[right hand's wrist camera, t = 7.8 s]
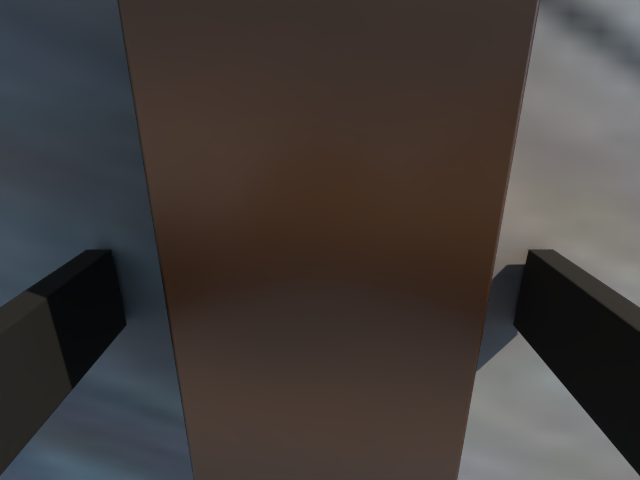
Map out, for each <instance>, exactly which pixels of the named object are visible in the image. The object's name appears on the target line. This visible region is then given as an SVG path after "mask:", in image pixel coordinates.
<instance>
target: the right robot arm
mask: <svg viewBox="0 0 640 480" xmlns="http://www.w3.org/2000/svg"><path fill="white" fill-rule="evenodd" d="M126 325H127V324H126V320H125V315H124V310H123V305H122V300H121V295H120V291H119V286H118V281H117V276H116V271H115V267H114V262H113V257H112V252H111V250H85V251H84V252H82V253H81V254H79V255H78V256H76V257H75V258H73V259H72V260H71V261H69V262H68V263H66V264H65V265H63V266H62V267H60V268H59V269H57V270H56V271H54V272H53V273H51V274H50V275H48V276H47V277H45V278H44V279H42V280H41V281H39V282H38V283H36V284H35V285H33V286H32V287H30V288H29V289H27V290H26V291H24V292H23V293H21V294H20V295H18V296H17V297H15V298H14V299H12V300H11V301H9V302H8V303H6V304H5V305H3V306H2V307H0V475H1V474H2V473H3V472H4V470H5V469H6V468H7V467H8V466H9V464H10V463H11V462H12V461H13V460H14V458H15V457H16V456H17V455H18V454H19V453H20V451H21V450H22V449H23V448H24V447H25V445H26V444H27V443H28V442H29V441H30V439H31V438H32V437H33V436H34V435H35V433H36V432H37V431H38V430H39V429H40V427H41V426H42V425H43V424H44V423H45V421H46V420H47V419H48V418H49V417H50V416H51V414H52V413H53V412H54V411H55V410H56V408H57V407H58V406H59V405H60V404H61V402H62V401H63V400H64V399H65V398H66V396H67V395H68V394H69V393H70V392H71V390H72V389H73V388H74V387H75V386H76V384H77V383H78V382H79V381H80V380H81V378H82V377H83V376H84V375H85V374H86V373H87V371H88V370H89V369H90V368H91V367H92V365H93V364H94V363H95V362H96V361H97V359H98V358H99V357H100V356H101V355H102V353H103V352H104V351H105V350H106V349H107V347H108V346H109V345H110V344H111V343H112V341H113V340H114V339H115V338H116V337H117V336H118V334H119V333H120V332H121V331H122V330H123V328H124V327H125V326H126ZM513 325H514V326H515V327H516V329H517V330H518V331H519V332H520V333H521V335H522V336H523V337H524V338H525V339H526V341H527V342H528V343H529V344H530V345H531V347H532V348H533V349H534V350H535V351H536V353H537V354H538V355H539V356H540V357H541V358H542V360H543V361H544V362H545V363H546V364H547V366H548V367H549V368H550V369H551V370H552V372H553V373H554V374H555V375H556V376H557V378H558V379H559V380H560V381H561V382H562V384H563V385H564V386H565V387H566V388H567V390H568V391H569V392H570V393H571V394H572V396H573V397H574V398H575V399H576V400H577V401H578V403H579V404H580V405H581V406H582V407H583V409H584V410H585V411H586V412H587V413H588V415H589V416H590V417H591V418H592V419H593V421H594V422H595V423H596V424H597V425H598V427H599V428H600V429H601V430H602V431H603V433H604V434H605V435H606V436H607V437H608V439H609V440H610V441H611V442H612V443H613V444H614V446H615V447H616V448H617V449H618V450H619V452H620V453H621V454H622V455H623V456H624V458H625V459H626V460H627V461H628V462H629V464H630V465H631V466H632V467H633V468H634V470H635V471H636V472H637V473H638V474H639V476H640V307H638V306H637V305H635V304H634V303H632V302H631V301H629V300H628V299H626V298H625V297H623V296H622V295H620V294H619V293H617V292H616V291H614V290H613V289H611V288H610V287H608V286H607V285H605V284H604V283H602V282H601V281H599V280H598V279H596V278H595V277H593V276H592V275H590V274H589V273H587V272H586V271H584V270H583V269H581V268H580V267H578V266H577V265H575V264H574V263H572V262H571V261H569V260H568V259H566V258H565V257H563V256H562V255H560V254H559V253H557V252H556V251H554V250H529V251H528V256H527V260H526V265H525V270H524V275H523V280H522V284H521V289H520V294H519V299H518V304H517V309H516V313H515V318H514V323H513Z"/></svg>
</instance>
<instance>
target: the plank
mask: <svg viewBox="0 0 640 480" xmlns="http://www.w3.org/2000/svg"><path fill="white" fill-rule="evenodd" d="M539 4H540V0H118V7H119V13H120V19H121V25H122V32H123V38H124V44H125V50H126V57H127V63H128V69H129V76H130V82H131V88H132V94H133V101H134V107H135V113H136V119H137V126H138V132H139V138H140V144H141V151H142V157H143V163H144V170H145V176H146V182H147V188H148V195H149V201H150V207H151V213H152V220H153V226H154V232H155V239H156V245H157V251H158V257H159V264H160V270H161V276H162V282H163V289H164V295H165V301H166V308H167V314H168V320H169V326H170V333H171V339H172V345H173V351H174V358H175V364H176V370H177V377H178V383H179V389H180V395H181V402H182V408H183V414H184V420H185V427H186V433H187V439H188V446H189V452H190V458H191V464H192V471H193V477H194V480H457V478H458V472H459V466H460V460H461V455H462V449H463V443H464V437H465V431H466V426H467V420H468V414H469V408H470V402H471V397H472V391H473V385H474V379H475V374H476V368H477V362H478V356H479V350H480V345H481V339H482V333H483V327H484V322H485V316H486V310H487V304H488V298H489V293H490V287H491V281H492V275H493V270H494V264H495V258H496V252H497V246H498V241H499V235H500V229H501V223H502V217H503V212H504V206H505V200H506V194H507V189H508V183H509V177H510V171H511V165H512V160H513V154H514V148H515V142H516V137H517V131H518V125H519V119H520V113H521V108H522V102H523V96H524V90H525V85H526V79H527V73H528V67H529V61H530V56H531V50H532V44H533V38H534V33H535V27H536V21H537V15H538V9H539Z"/></svg>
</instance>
